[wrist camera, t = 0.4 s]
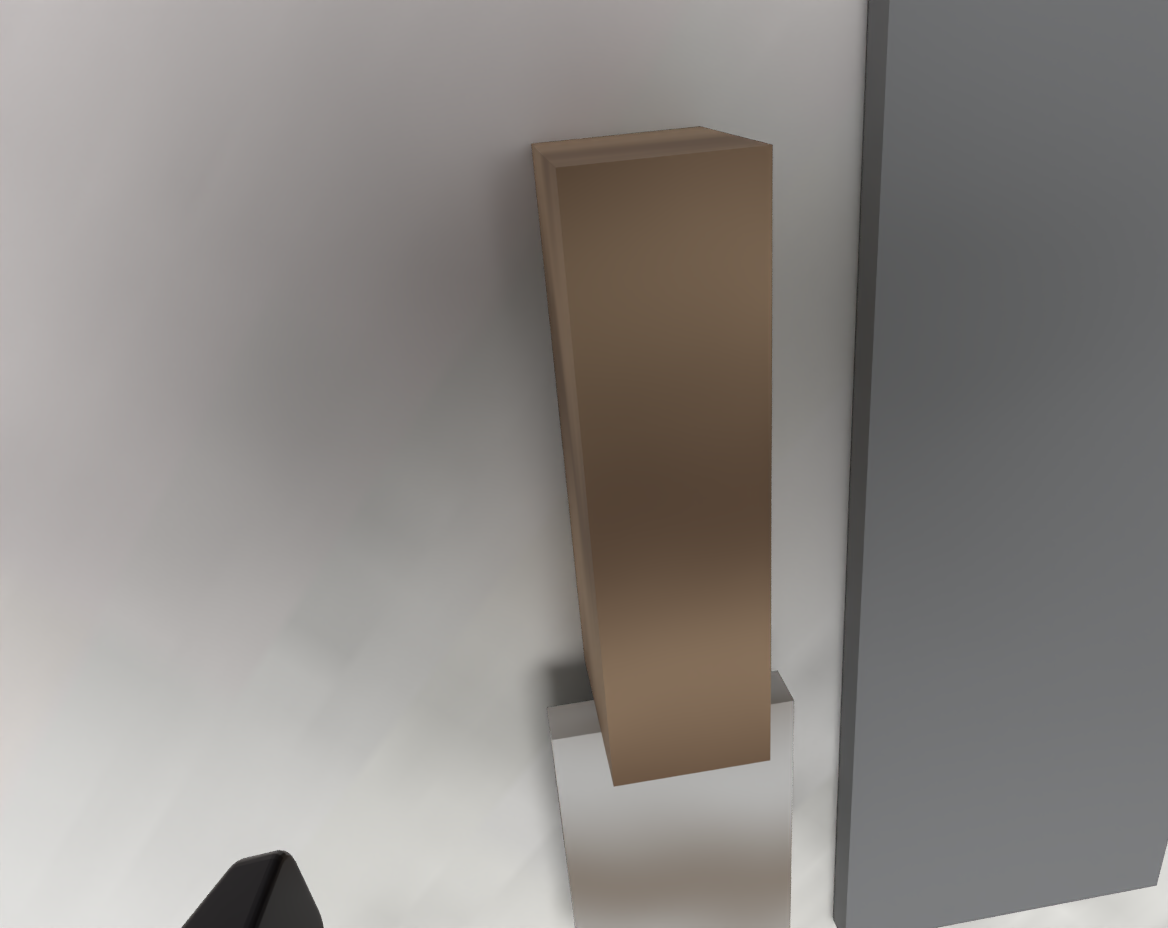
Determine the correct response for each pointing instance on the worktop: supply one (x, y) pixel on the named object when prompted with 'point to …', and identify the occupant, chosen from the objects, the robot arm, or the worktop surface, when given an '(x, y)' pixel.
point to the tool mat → (1007, 464)
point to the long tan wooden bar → (668, 528)
